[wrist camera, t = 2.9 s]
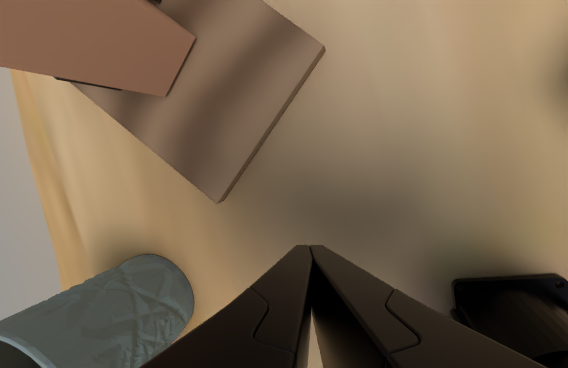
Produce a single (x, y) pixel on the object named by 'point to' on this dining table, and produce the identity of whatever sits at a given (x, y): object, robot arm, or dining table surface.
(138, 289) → the grey embossed cylinder
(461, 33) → the dining table surface
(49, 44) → the terracotta peg
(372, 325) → the robot arm
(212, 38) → the walnut board
